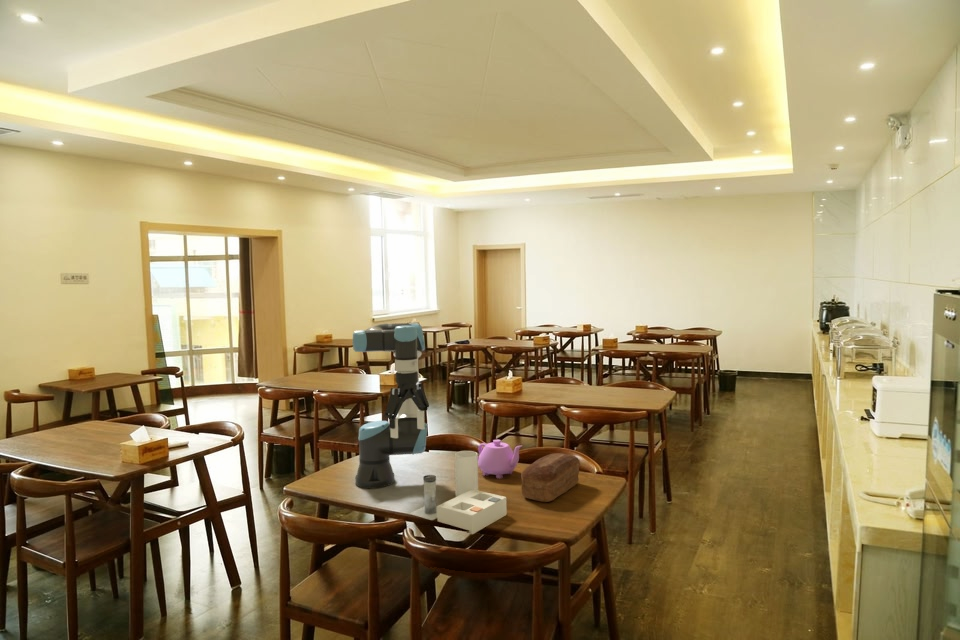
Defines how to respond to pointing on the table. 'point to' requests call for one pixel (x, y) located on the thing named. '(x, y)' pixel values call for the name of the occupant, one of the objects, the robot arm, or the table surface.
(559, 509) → the table surface
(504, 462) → the teapot
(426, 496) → the plug
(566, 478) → the bread
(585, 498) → the table surface
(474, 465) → the cup
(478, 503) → the socket block
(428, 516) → the white flat square plate
